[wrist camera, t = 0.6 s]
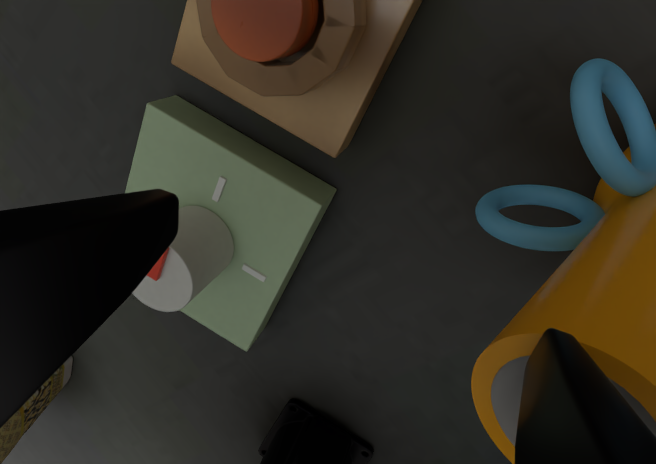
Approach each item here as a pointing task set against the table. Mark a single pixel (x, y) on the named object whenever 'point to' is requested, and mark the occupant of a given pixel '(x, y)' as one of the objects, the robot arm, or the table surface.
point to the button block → (304, 67)
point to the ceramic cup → (32, 409)
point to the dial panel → (232, 209)
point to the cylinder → (584, 261)
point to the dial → (188, 261)
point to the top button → (265, 26)
